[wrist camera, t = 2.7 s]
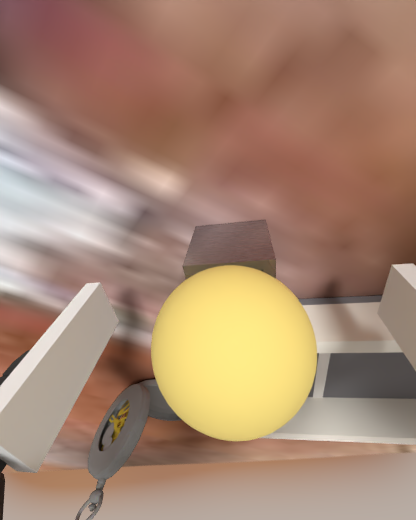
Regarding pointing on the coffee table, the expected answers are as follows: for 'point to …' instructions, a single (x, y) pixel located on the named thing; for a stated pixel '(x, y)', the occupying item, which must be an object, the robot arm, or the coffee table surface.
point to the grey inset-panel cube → (231, 247)
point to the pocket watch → (123, 433)
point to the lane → (355, 378)
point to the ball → (234, 353)
